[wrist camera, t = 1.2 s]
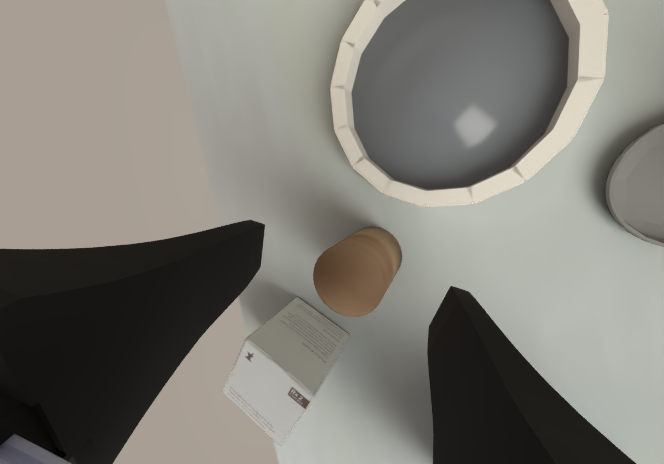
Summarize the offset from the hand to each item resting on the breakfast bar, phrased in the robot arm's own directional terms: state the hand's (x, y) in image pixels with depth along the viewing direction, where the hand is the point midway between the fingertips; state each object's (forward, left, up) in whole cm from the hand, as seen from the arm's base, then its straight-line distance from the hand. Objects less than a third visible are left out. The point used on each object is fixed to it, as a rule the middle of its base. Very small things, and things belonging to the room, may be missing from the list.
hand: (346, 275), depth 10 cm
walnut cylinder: (-3, +1, -11) cm, 11 cm away
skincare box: (-13, +4, -11) cm, 18 cm away
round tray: (+9, 0, -11) cm, 14 cm away
